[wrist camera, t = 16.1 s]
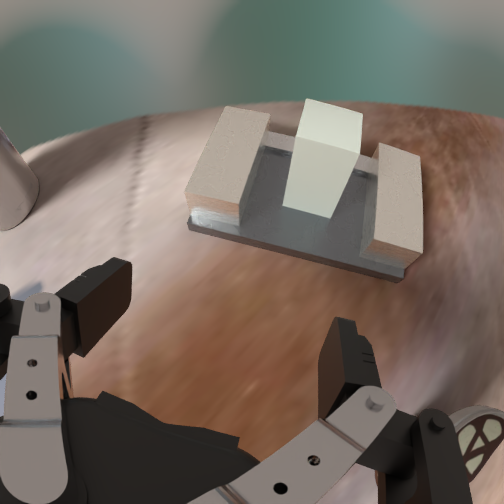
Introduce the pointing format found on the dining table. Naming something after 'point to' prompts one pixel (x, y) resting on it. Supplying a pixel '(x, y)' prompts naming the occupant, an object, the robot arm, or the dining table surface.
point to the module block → (322, 157)
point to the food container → (476, 436)
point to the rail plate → (300, 222)
